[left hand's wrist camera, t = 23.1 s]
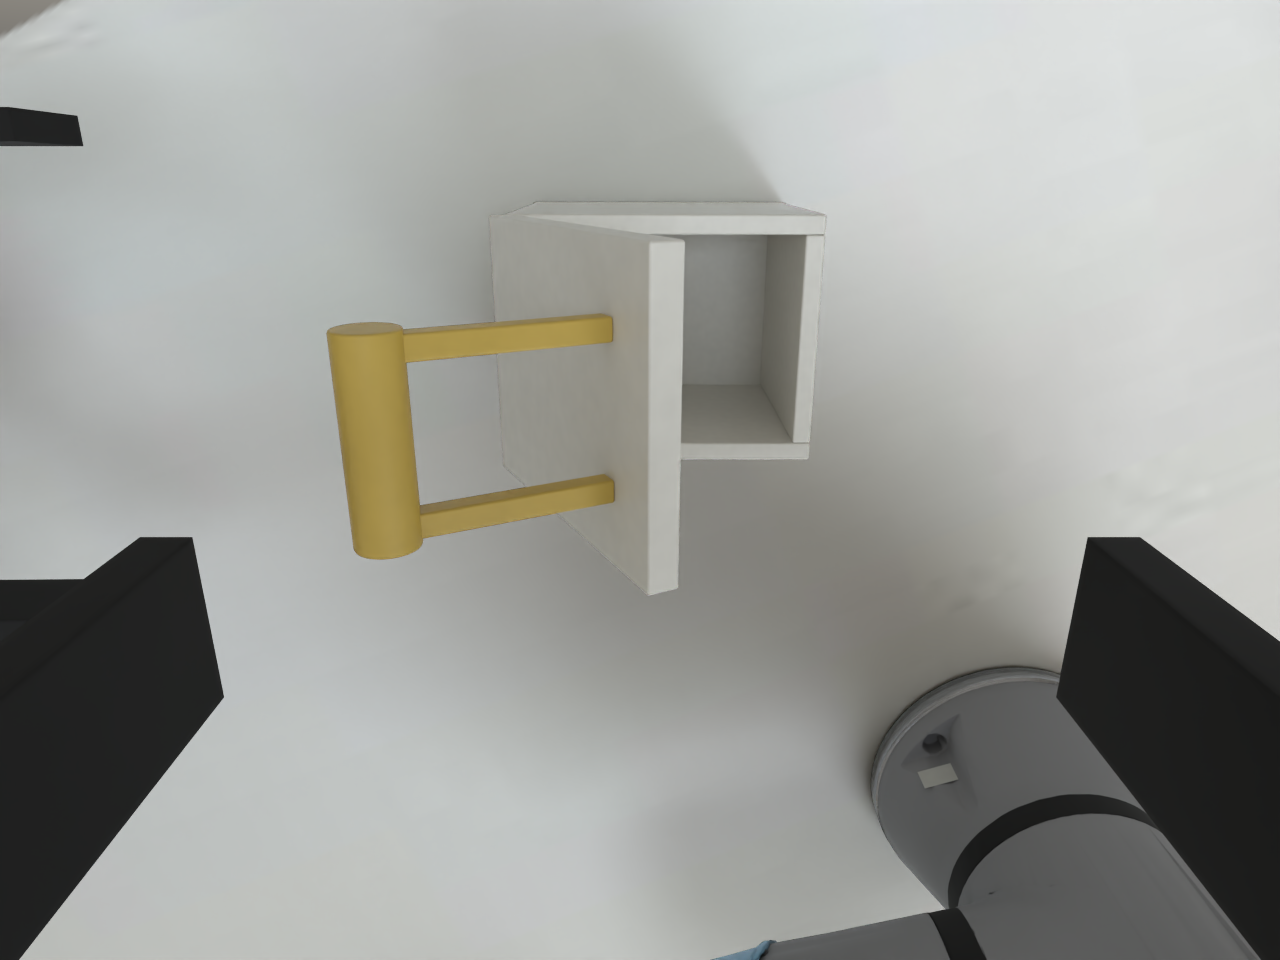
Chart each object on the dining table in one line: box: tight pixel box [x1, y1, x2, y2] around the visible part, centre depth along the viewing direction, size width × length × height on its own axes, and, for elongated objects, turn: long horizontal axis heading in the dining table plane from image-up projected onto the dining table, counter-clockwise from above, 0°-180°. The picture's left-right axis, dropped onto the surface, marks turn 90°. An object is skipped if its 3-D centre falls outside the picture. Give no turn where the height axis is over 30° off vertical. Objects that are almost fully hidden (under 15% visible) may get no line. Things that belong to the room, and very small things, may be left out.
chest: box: [505, 202, 827, 460], centre depth 37 cm, size 12×10×10 cm
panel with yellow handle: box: [327, 215, 685, 596], centre depth 25 cm, size 12×9×8 cm
